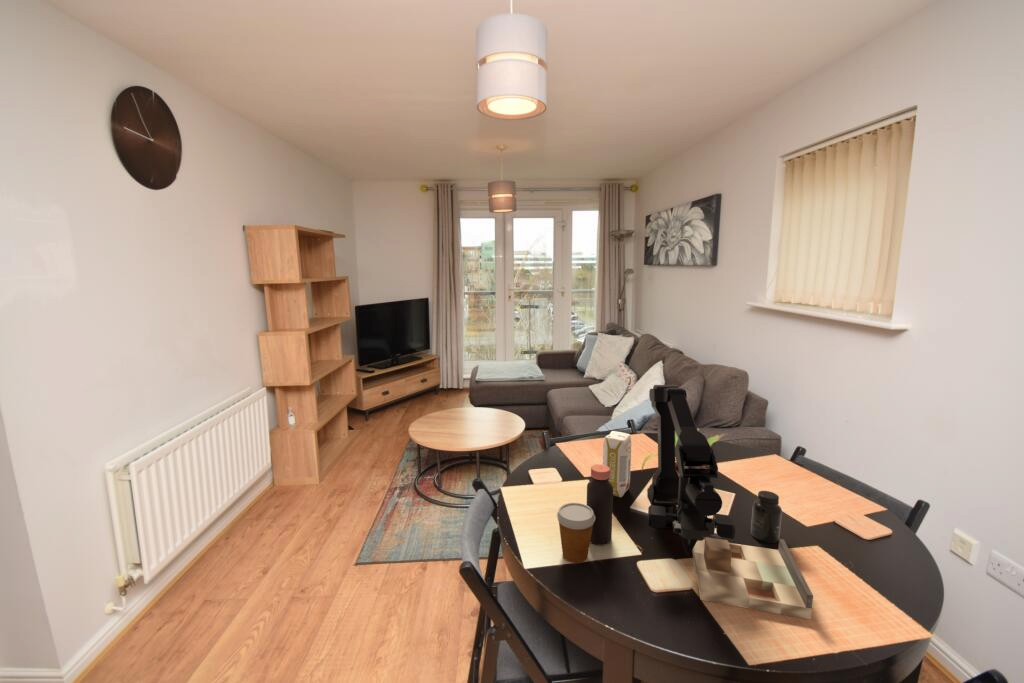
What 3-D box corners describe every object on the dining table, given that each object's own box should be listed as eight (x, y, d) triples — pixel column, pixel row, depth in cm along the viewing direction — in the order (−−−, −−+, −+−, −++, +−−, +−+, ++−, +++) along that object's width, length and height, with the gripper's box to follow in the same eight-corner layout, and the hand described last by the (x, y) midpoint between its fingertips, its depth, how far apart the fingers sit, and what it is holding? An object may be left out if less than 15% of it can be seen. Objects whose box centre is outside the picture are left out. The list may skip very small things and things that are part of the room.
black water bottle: (616, 538, 121) (618, 467, 118) (602, 549, 116) (604, 476, 113) (594, 528, 125) (596, 460, 122) (580, 538, 121) (582, 468, 117)
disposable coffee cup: (585, 572, 107) (586, 526, 105) (549, 559, 112) (550, 514, 110) (600, 551, 115) (601, 508, 113) (566, 540, 120) (566, 498, 118)
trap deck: (700, 599, 98) (702, 576, 97) (691, 546, 117) (692, 526, 116) (810, 619, 92) (813, 595, 92) (781, 559, 111) (783, 539, 111)
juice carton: (631, 488, 148) (633, 433, 145) (622, 499, 141) (624, 442, 138) (609, 483, 152) (611, 429, 149) (599, 493, 145) (601, 437, 142)
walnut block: (706, 569, 104) (707, 549, 104) (703, 556, 109) (705, 537, 108) (730, 572, 103) (731, 553, 102) (726, 559, 108) (727, 540, 107)
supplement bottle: (783, 545, 117) (787, 502, 115) (754, 542, 119) (758, 499, 117) (773, 530, 124) (777, 489, 122) (747, 527, 125) (750, 487, 123)
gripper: (650, 504, 100) (647, 568, 102) (742, 516, 95) (737, 583, 97) (649, 481, 111) (646, 540, 113) (732, 491, 105) (728, 552, 108)
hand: (687, 553), depth 108 cm, fingers closed
